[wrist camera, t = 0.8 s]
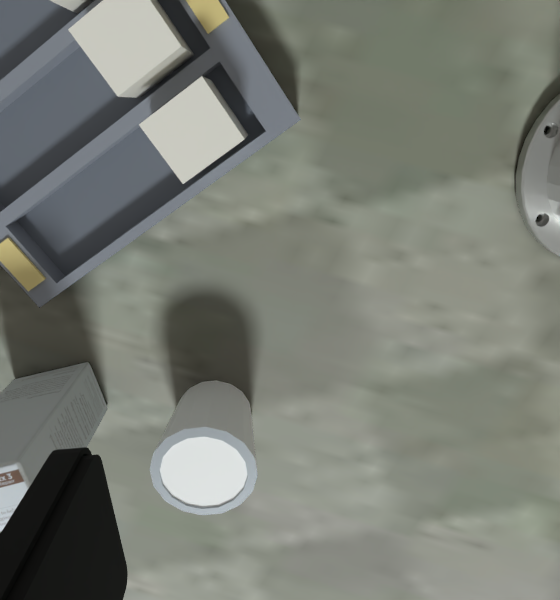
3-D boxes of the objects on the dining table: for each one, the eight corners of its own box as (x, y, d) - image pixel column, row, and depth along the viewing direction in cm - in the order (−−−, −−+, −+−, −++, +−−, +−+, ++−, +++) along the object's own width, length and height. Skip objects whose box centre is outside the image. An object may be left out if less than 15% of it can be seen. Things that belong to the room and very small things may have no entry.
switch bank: (129, -146, 28) (112, -177, 25) (298, 118, 32) (300, 119, 29) (-128, 85, 31) (-170, 83, 28) (57, 291, 36) (38, 308, 33)
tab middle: (153, -6, 28) (132, -25, 24) (194, 54, 29) (181, 46, 25) (97, 40, 29) (67, 29, 25) (139, 97, 30) (117, 96, 26)
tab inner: (211, 80, 30) (201, 76, 26) (248, 134, 31) (244, 139, 27) (156, 122, 31) (138, 124, 26) (194, 173, 32) (182, 184, 27)
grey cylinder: (271, 436, 40) (272, 501, 34) (189, 460, 41) (173, 527, 35) (242, 361, 38) (236, 414, 32) (155, 387, 39) (131, 445, 32)
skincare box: (36, 424, 40) (-57, 552, 28) (11, 374, 38) (-98, 488, 27) (113, 407, 39) (49, 529, 28) (91, 355, 38) (14, 462, 26)
